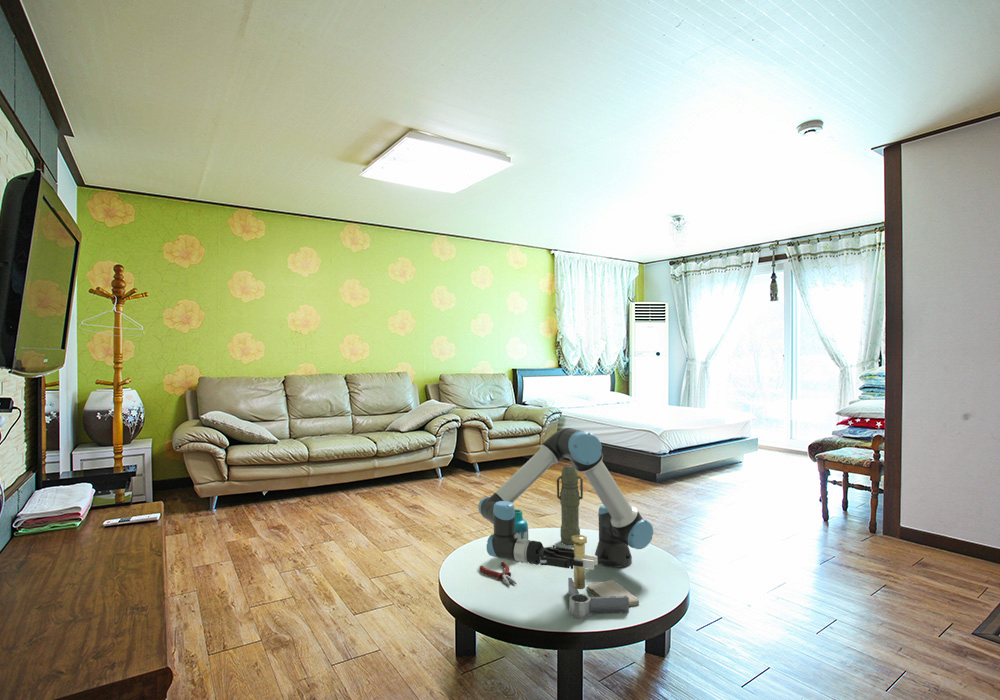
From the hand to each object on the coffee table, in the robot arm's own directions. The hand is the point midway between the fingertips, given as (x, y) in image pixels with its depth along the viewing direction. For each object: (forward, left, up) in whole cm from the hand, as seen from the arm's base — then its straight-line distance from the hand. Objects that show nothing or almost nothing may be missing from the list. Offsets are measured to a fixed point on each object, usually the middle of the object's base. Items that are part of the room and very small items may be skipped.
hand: (595, 562), depth 169 cm
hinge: (-2, -9, -18) cm, 20 cm away
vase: (+21, -56, -18) cm, 62 cm away
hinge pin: (+5, -3, -9) cm, 10 cm away
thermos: (-6, -70, -18) cm, 72 cm away
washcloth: (-9, -14, -18) cm, 25 cm away
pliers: (+30, -35, -18) cm, 50 cm away
